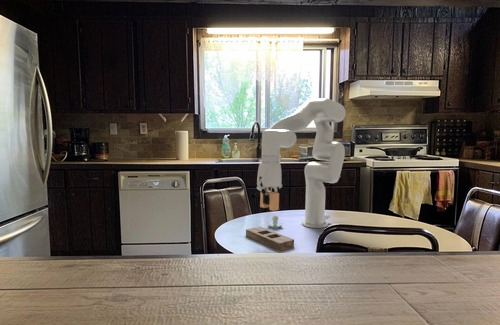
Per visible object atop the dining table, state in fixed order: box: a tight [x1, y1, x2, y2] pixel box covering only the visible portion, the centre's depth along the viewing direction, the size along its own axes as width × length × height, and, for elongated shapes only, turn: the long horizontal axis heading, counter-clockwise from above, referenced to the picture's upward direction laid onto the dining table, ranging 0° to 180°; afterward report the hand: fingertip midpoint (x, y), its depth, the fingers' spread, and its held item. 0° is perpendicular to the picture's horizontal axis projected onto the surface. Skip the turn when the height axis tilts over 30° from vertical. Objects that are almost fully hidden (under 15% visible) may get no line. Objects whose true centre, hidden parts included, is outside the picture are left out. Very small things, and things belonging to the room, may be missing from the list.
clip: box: [259, 190, 280, 212], centre depth 139 cm, size 3×8×7 cm, turn 37°
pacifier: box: [267, 214, 284, 229], centre depth 162 cm, size 7×6×6 cm
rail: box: [245, 226, 295, 251], centre depth 141 cm, size 8×22×3 cm, turn 37°
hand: (269, 203), depth 139 cm, fingers closed on clip, 3 cm apart
